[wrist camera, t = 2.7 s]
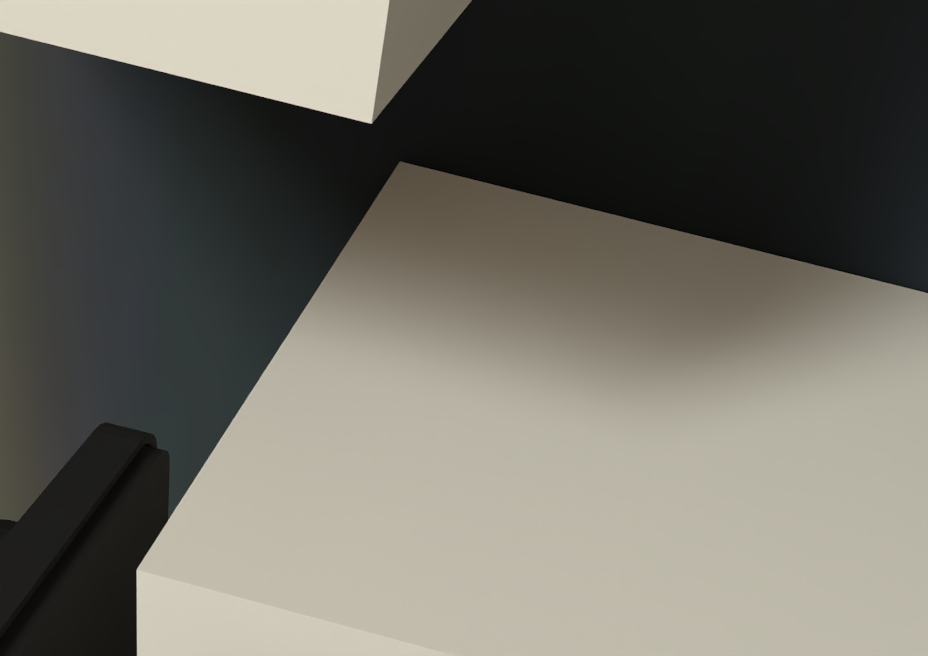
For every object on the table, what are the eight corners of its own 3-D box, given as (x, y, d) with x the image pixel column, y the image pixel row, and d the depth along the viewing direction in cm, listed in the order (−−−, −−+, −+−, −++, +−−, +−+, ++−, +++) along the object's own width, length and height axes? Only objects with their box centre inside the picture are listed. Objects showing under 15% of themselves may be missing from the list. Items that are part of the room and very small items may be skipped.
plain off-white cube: (945, 297, 11) (1331, 891, 5) (741, 654, 15) (820, 1239, 9) (400, 161, 11) (136, 570, 5) (335, 546, 15) (138, 1042, 9)
